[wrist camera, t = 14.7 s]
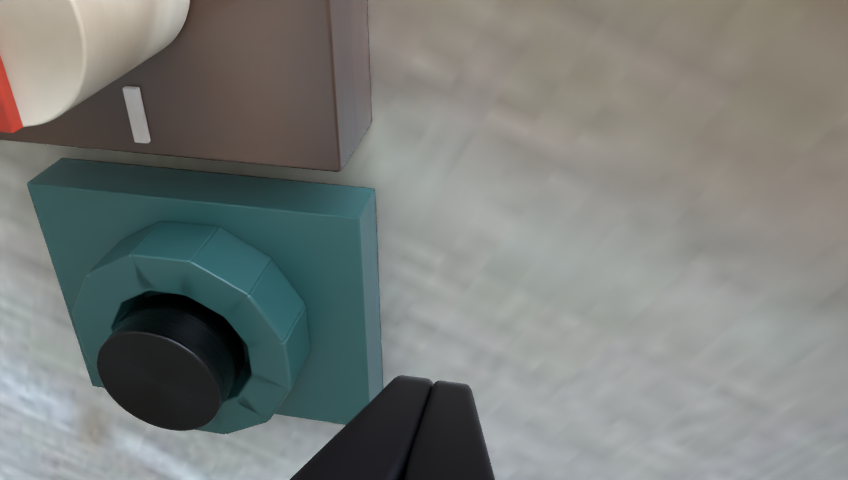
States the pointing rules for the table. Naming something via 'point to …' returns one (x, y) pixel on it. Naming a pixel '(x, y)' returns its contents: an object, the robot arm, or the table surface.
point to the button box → (227, 275)
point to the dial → (74, 51)
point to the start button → (171, 362)
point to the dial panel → (237, 89)
